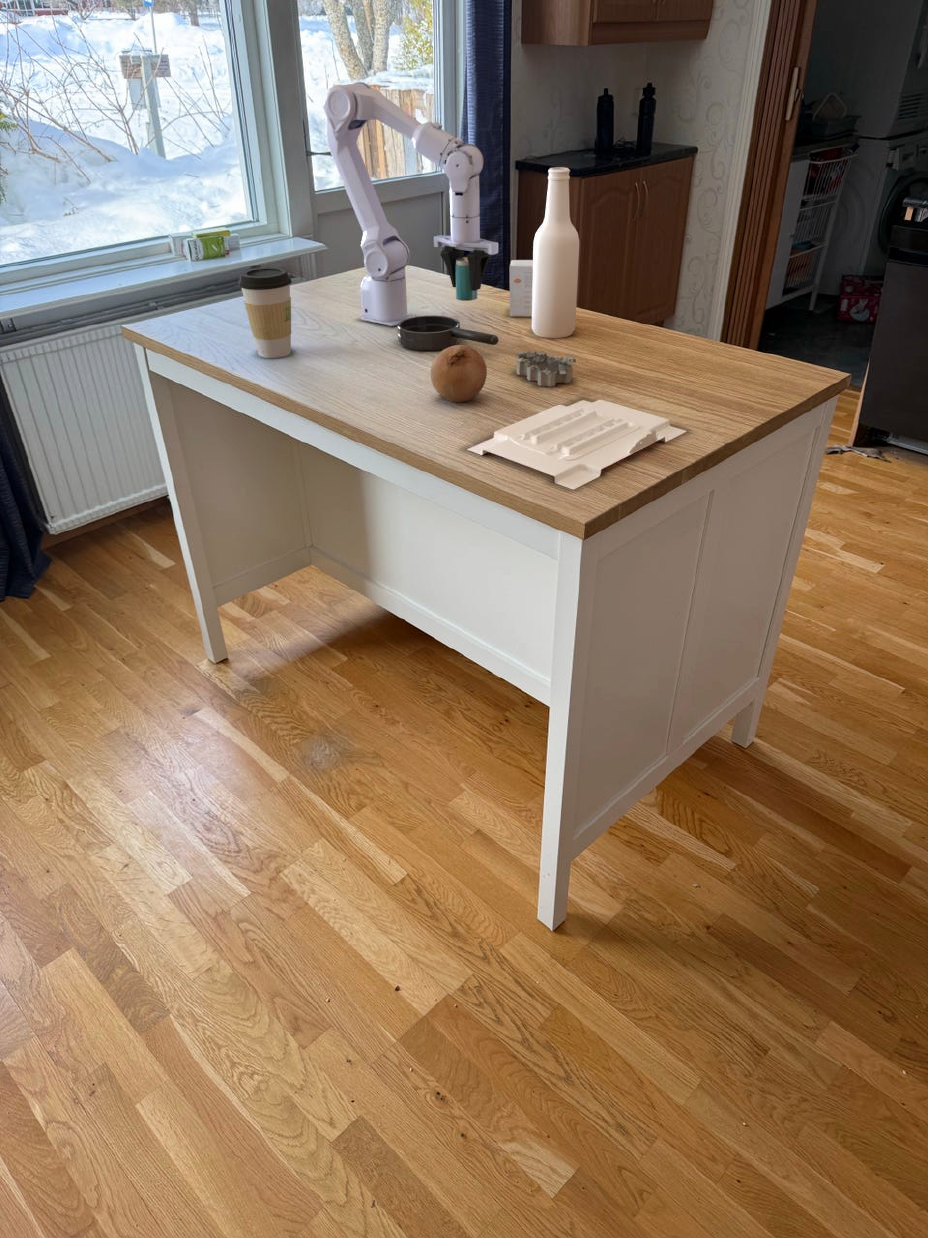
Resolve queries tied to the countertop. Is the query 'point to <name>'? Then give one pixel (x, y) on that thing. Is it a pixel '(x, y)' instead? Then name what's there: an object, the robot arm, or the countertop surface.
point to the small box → (521, 288)
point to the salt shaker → (463, 280)
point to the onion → (458, 373)
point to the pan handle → (474, 336)
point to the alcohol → (555, 263)
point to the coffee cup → (268, 309)
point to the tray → (578, 439)
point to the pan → (427, 333)
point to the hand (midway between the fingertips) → (466, 287)
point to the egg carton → (545, 368)
